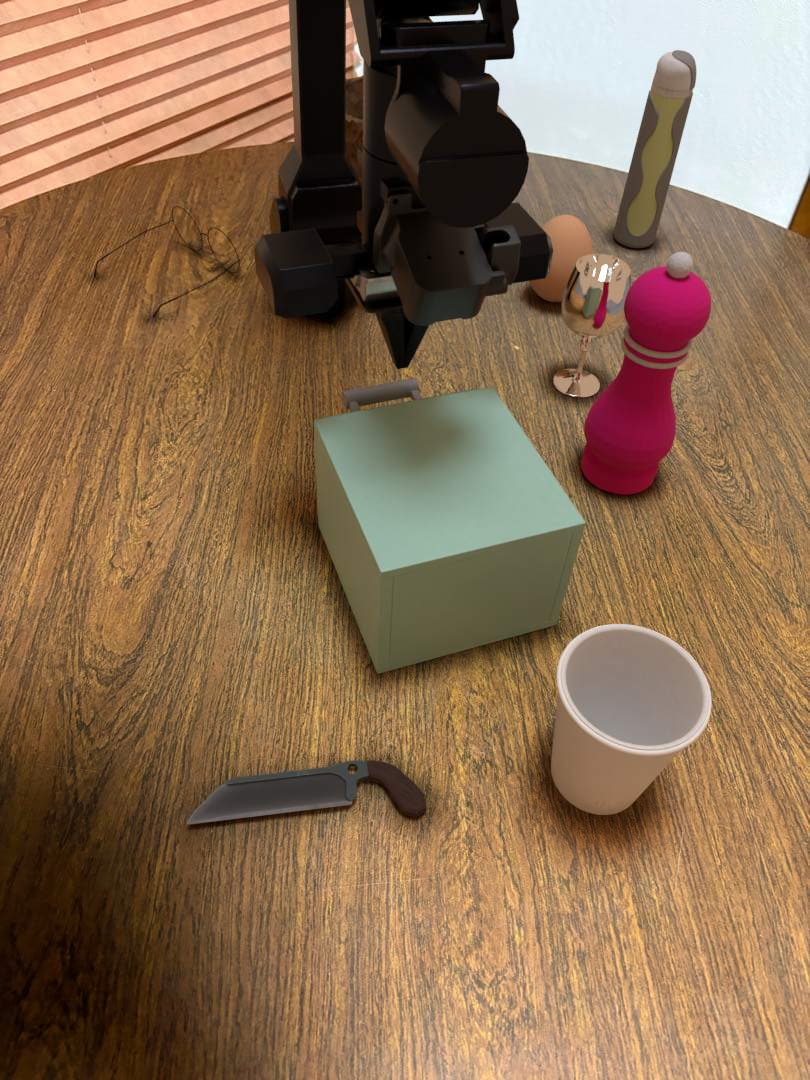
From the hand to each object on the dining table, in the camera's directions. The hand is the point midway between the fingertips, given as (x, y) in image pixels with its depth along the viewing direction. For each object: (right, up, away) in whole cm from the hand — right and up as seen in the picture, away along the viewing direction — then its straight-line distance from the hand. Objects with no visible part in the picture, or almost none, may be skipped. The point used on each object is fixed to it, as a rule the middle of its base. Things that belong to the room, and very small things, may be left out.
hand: (400, 365), depth 62 cm
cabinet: (+2, -15, +3) cm, 15 cm away
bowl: (0, +23, +38) cm, 45 cm away
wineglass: (+17, +2, +20) cm, 26 cm away
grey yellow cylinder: (+27, +23, +39) cm, 53 cm away
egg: (+16, +13, +30) cm, 36 cm away
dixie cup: (+12, -27, -8) cm, 31 cm away
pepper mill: (+18, -7, +12) cm, 23 cm away
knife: (-6, -28, -10) cm, 31 cm away
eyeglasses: (-25, +15, +29) cm, 41 cm away
